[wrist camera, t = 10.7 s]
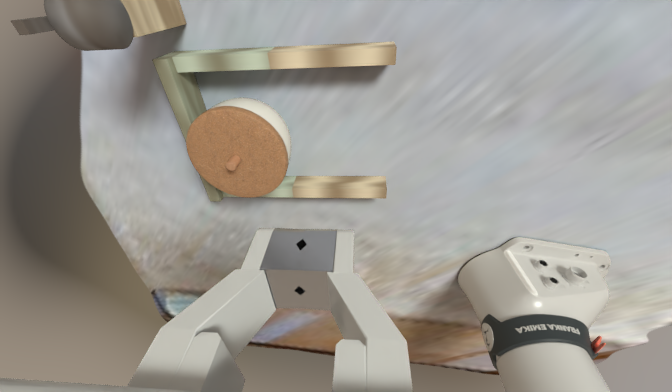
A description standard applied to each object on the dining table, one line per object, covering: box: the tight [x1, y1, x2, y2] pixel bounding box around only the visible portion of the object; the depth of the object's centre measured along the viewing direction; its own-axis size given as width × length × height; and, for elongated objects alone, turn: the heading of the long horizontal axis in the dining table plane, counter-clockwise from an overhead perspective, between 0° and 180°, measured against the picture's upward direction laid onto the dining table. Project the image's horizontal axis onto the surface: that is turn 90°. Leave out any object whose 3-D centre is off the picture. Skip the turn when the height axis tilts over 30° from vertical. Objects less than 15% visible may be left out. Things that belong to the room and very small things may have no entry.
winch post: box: [11, 0, 186, 51], centre depth 24 cm, size 4×4×14 cm
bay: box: [152, 42, 396, 201], centre depth 34 cm, size 24×18×4 cm
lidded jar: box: [186, 98, 291, 197], centre depth 33 cm, size 11×11×9 cm
